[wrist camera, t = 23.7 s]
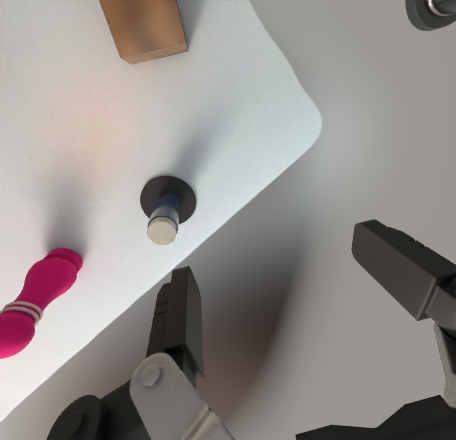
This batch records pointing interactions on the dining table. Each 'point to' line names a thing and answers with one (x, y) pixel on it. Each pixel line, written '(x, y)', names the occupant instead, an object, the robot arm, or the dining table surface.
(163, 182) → the mat
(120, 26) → the shelf
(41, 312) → the pepper mill
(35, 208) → the dining table surface
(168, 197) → the cylinder
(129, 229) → the dining table surface
